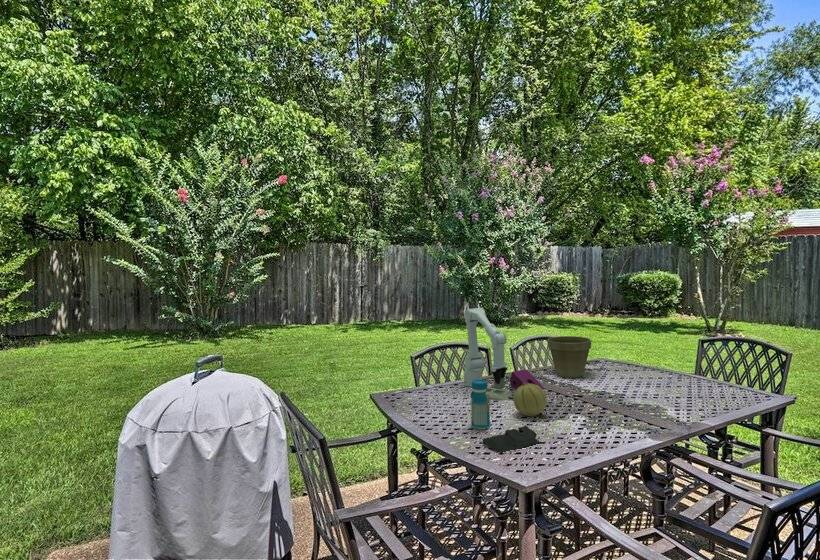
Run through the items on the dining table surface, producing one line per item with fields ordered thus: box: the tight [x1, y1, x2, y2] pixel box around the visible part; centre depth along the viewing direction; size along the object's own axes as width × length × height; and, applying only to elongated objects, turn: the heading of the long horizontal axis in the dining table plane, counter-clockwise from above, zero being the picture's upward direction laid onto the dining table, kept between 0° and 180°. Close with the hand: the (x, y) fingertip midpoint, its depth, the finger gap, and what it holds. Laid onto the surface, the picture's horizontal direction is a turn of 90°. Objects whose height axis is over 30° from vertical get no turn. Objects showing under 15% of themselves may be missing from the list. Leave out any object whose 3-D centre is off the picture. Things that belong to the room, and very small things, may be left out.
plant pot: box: [547, 335, 592, 379], centre depth 292 cm, size 25×25×22 cm
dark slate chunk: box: [482, 425, 541, 454], centre depth 195 cm, size 15×22×5 cm
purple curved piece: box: [509, 368, 544, 391], centre depth 266 cm, size 9×8×18 cm
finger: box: [492, 377, 506, 390], centre depth 255 cm, size 5×4×5 cm
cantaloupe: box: [513, 383, 548, 417], centre depth 225 cm, size 15×15×15 cm
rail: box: [470, 386, 511, 401], centre depth 258 cm, size 18×9×6 cm, turn 55°
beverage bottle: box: [469, 378, 491, 430], centre depth 213 cm, size 8×8×20 cm
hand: (499, 382), depth 255 cm, fingers closed on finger, 4 cm apart
